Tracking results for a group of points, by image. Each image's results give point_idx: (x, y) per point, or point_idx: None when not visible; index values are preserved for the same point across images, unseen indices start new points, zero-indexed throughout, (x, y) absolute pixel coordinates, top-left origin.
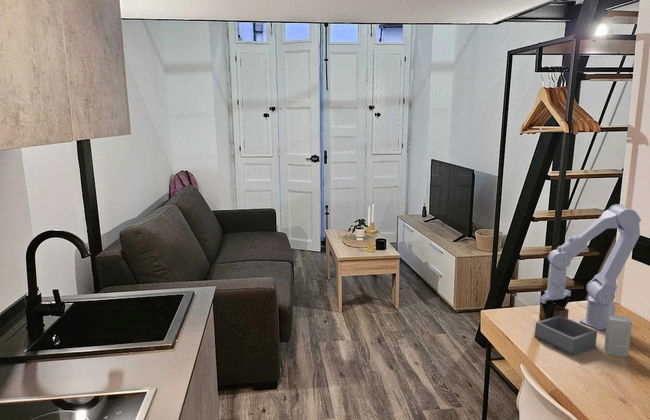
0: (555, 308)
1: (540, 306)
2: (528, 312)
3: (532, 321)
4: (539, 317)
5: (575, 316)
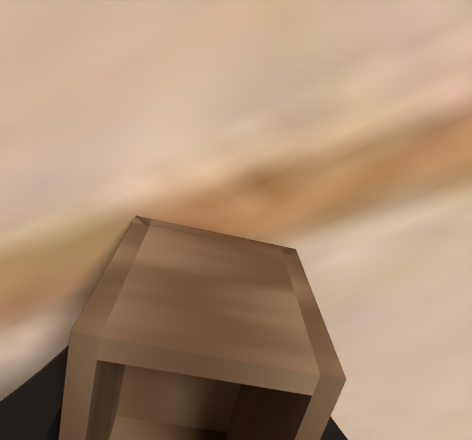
0: (268, 433)
1: (82, 315)
2: (222, 17)
3: (5, 192)
4: (134, 224)
5: (469, 406)
